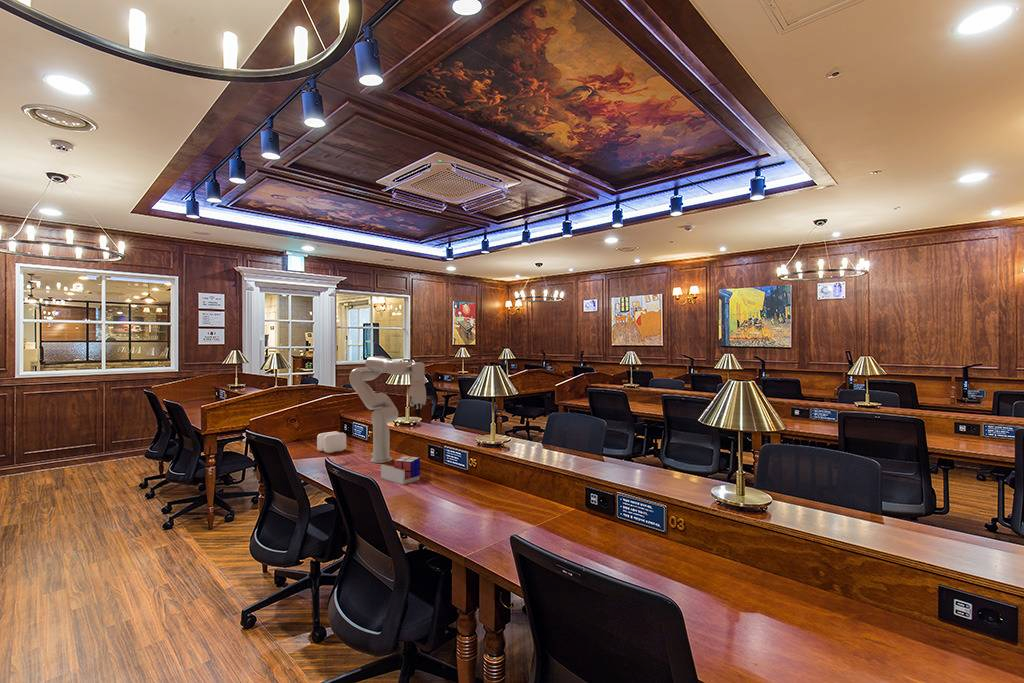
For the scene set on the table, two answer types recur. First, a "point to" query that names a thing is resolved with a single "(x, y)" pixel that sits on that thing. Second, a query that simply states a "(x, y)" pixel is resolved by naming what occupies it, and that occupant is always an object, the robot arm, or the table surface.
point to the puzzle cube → (408, 466)
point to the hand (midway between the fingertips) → (417, 415)
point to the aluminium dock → (396, 475)
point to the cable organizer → (331, 441)
